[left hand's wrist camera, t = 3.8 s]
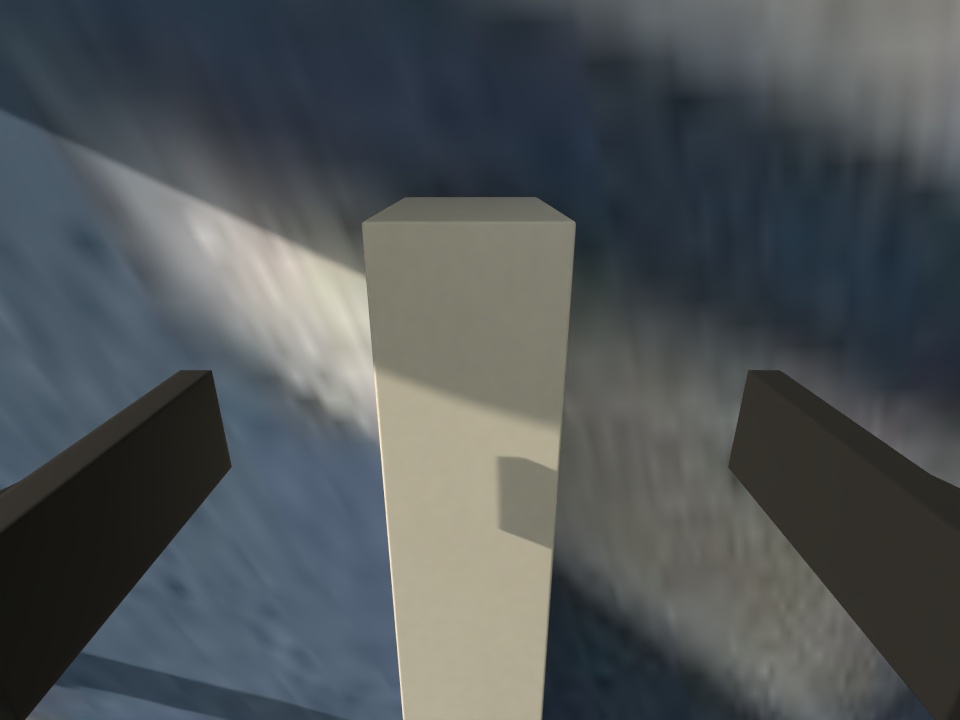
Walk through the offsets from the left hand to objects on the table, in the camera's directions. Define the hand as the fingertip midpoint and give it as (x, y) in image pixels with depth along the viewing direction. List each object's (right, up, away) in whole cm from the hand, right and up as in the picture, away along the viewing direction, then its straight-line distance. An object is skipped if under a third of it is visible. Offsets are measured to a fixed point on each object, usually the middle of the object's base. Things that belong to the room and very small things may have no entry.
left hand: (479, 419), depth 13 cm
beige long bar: (0, -16, +18) cm, 24 cm away
